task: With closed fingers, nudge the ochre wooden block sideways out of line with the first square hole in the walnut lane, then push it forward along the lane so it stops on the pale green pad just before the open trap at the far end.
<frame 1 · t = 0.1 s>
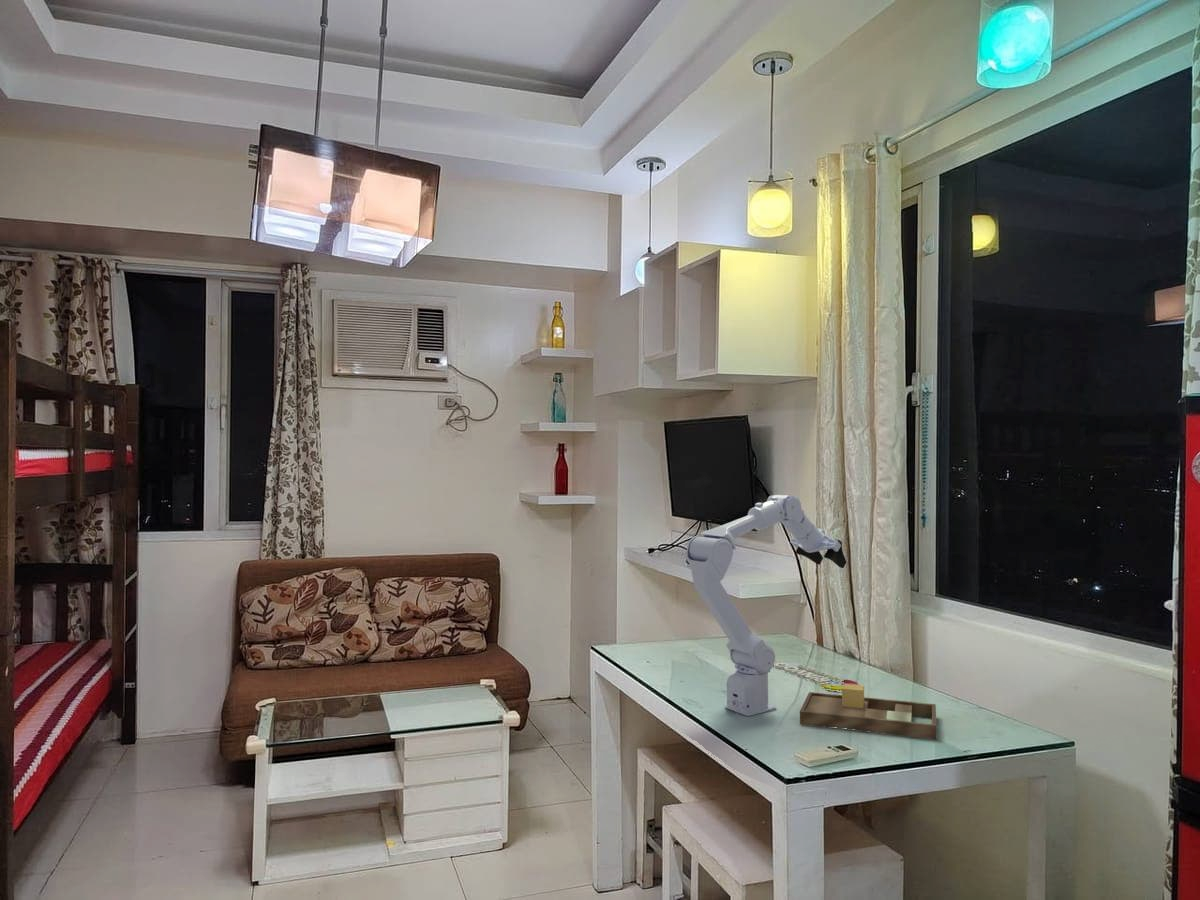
hand: (832, 563, 209), 32 cm above the table, tool tilted 50°, fingers open, 7 cm apart
block: (853, 704, 188), point 2 cm above the table, touching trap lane
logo: (814, 679, 219), on the table
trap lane: (868, 720, 184), on the table
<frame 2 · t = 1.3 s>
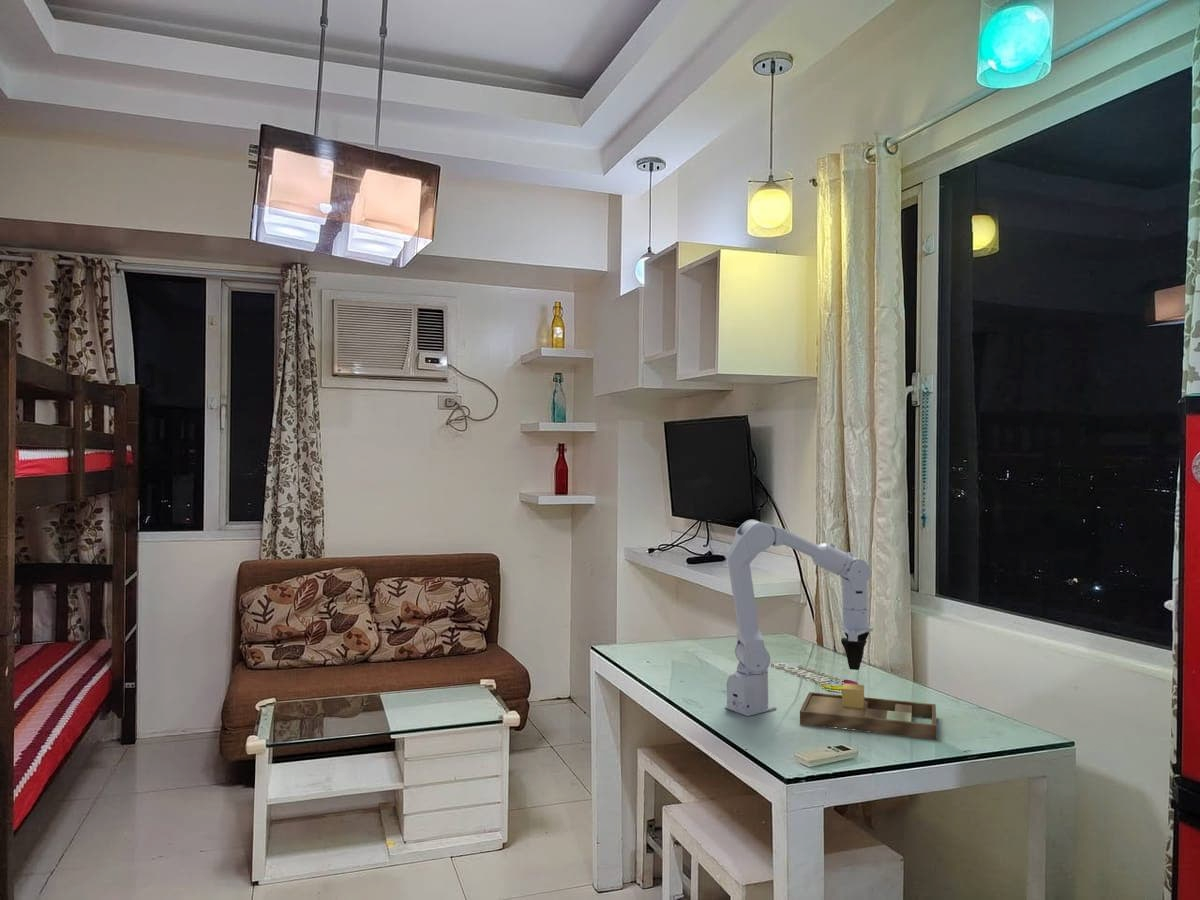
hand: (855, 665, 195), 9 cm above the table, tool pointing down, fingers open, 7 cm apart
nothing on the table moved.
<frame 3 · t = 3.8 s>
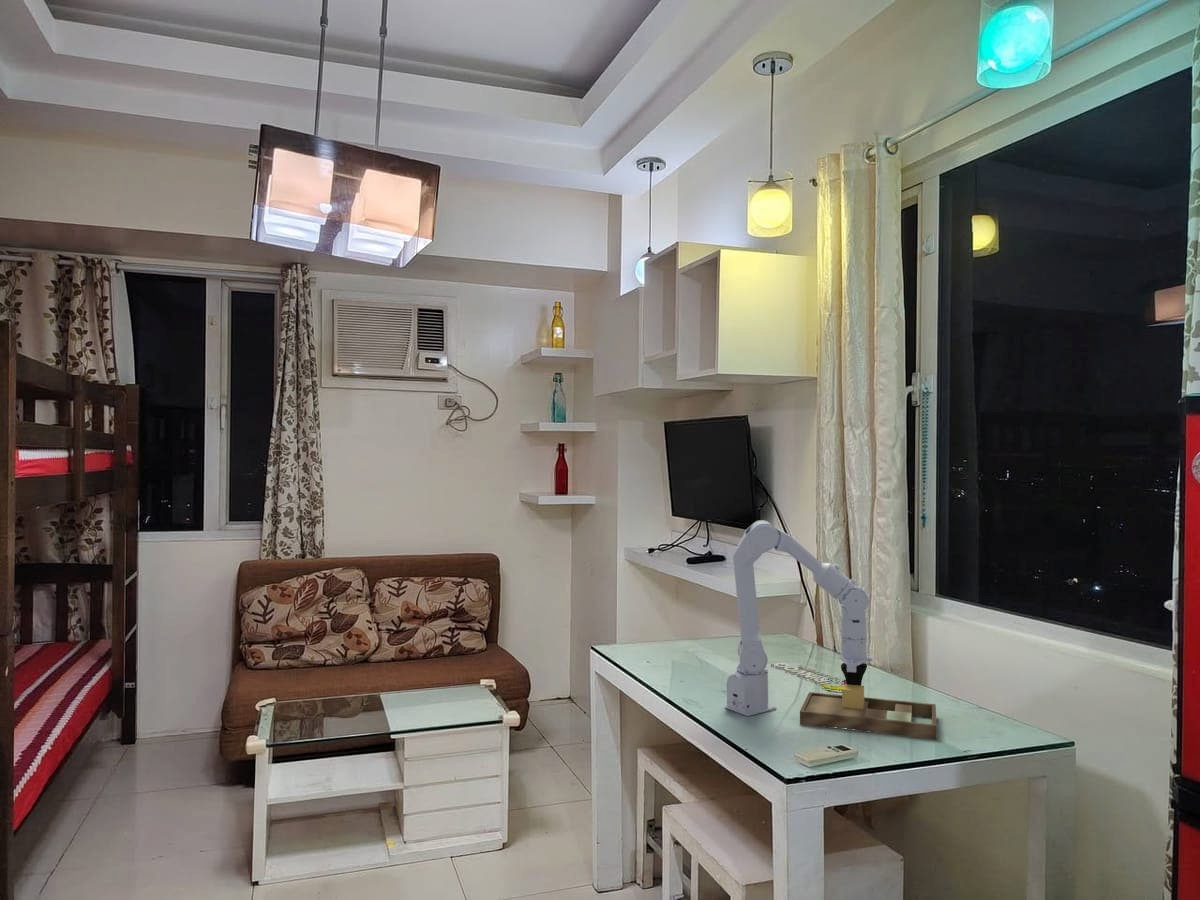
hand: (854, 695, 191), 3 cm above the table, tool pointing down, fingers closed
block: (853, 705, 187), point 2 cm above the table
everything else where it was.
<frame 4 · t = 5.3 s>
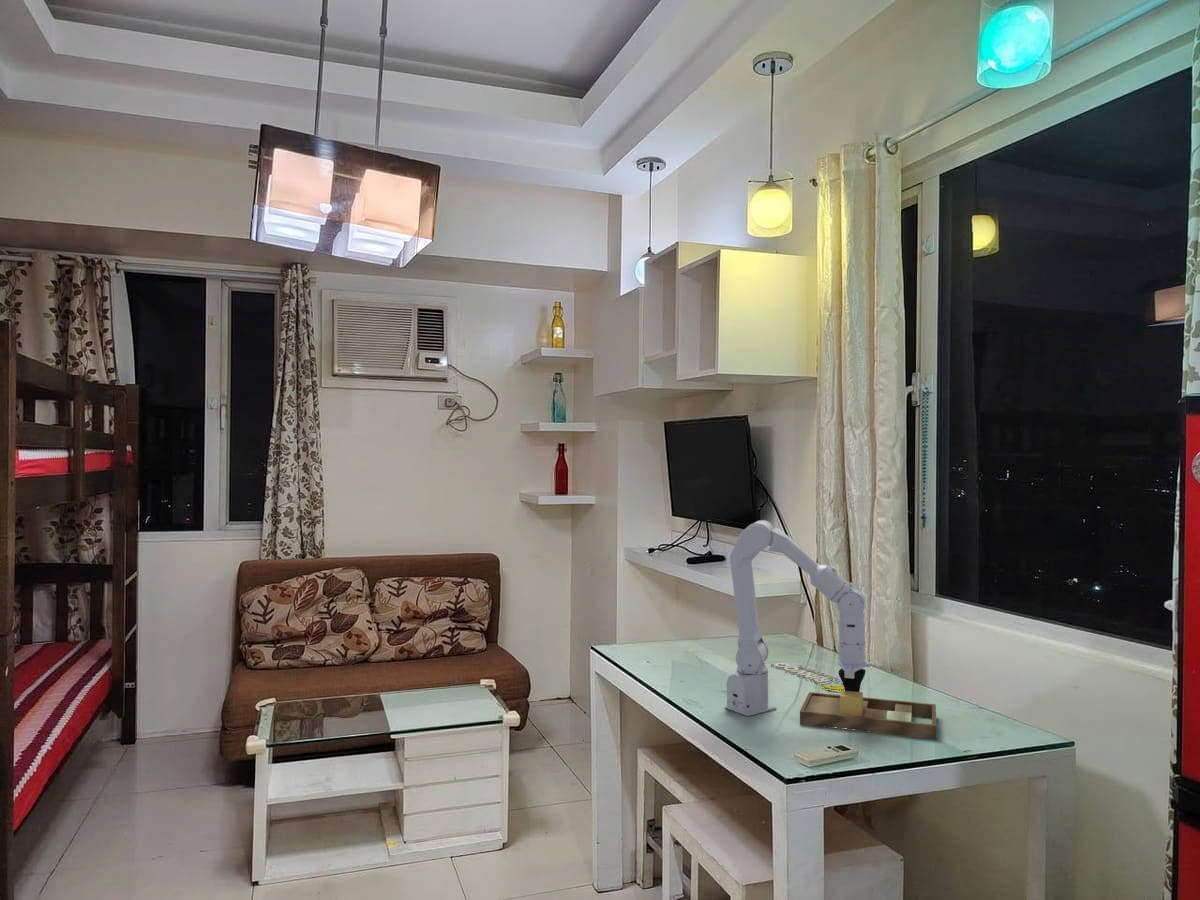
hand: (852, 702, 186), 4 cm above the table, tool pointing down, fingers closed
block: (851, 712, 182), point 2 cm above the table, touching gripper, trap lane
everything else where it was.
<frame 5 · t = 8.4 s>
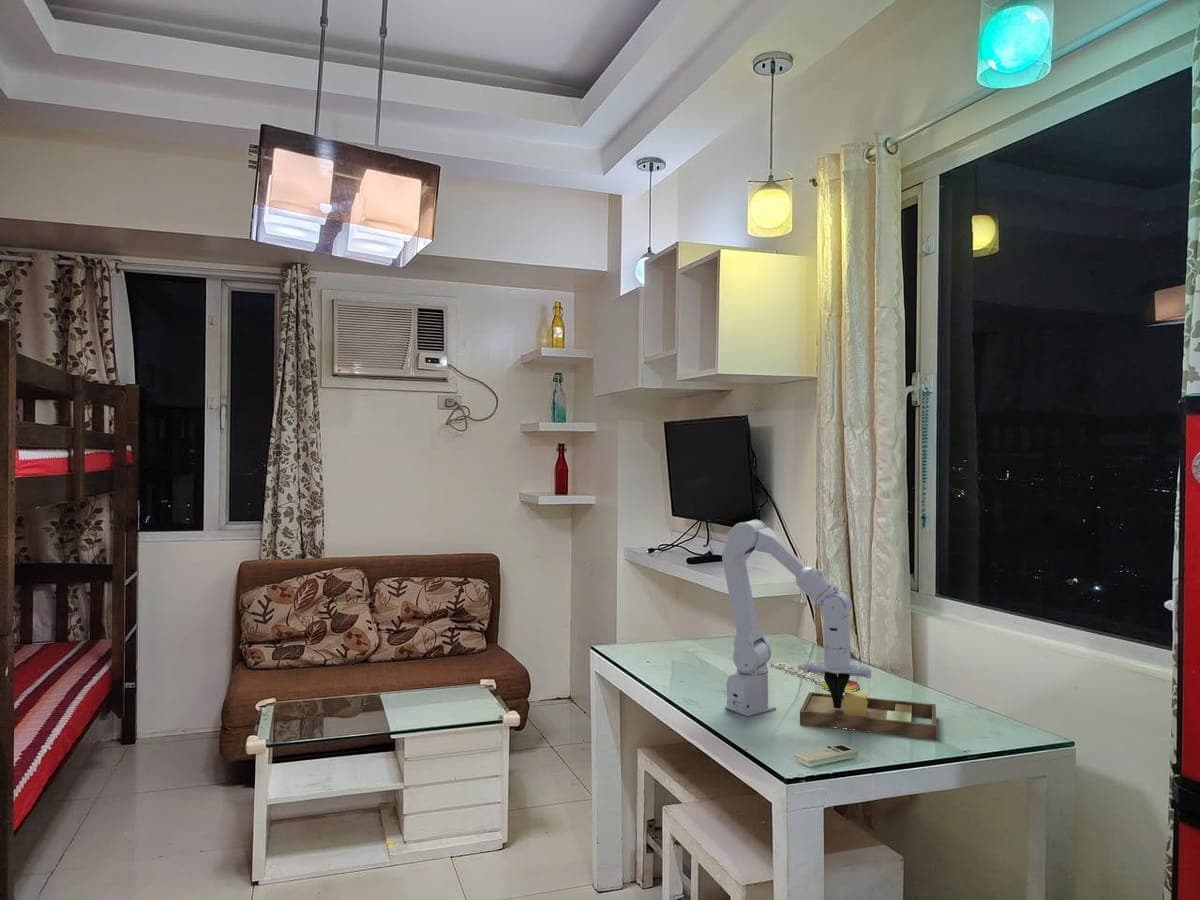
hand: (837, 707, 183), 3 cm above the table, tool pointing down, fingers closed
block: (855, 712, 182), point 2 cm above the table, touching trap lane
everything else where it was.
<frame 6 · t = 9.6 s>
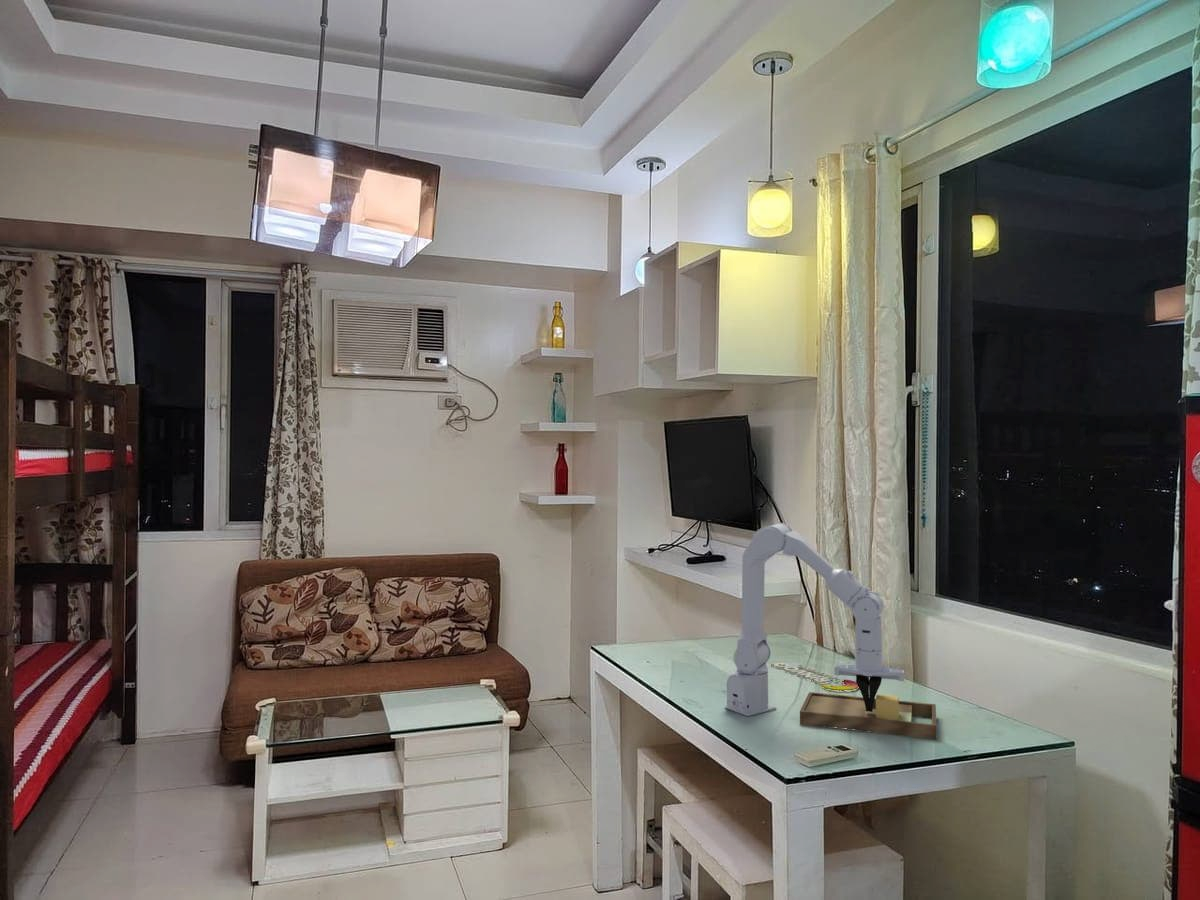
hand: (869, 710, 181), 3 cm above the table, tool pointing down, fingers closed
block: (887, 715, 179), point 2 cm above the table, touching gripper, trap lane
everything else where it was.
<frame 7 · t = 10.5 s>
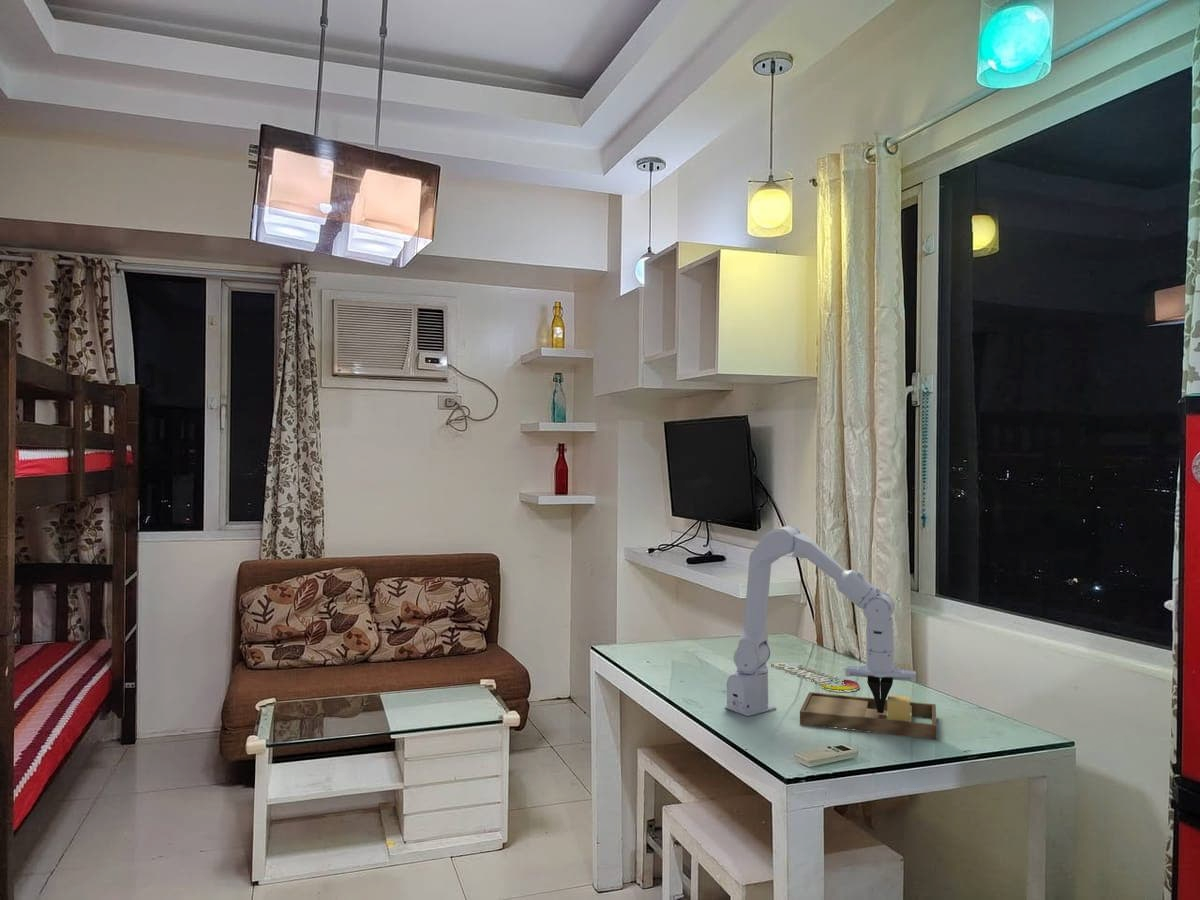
hand: (880, 711, 180), 3 cm above the table, tool pointing down, fingers closed
block: (898, 717, 179), point 2 cm above the table, touching gripper, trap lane
everything else where it was.
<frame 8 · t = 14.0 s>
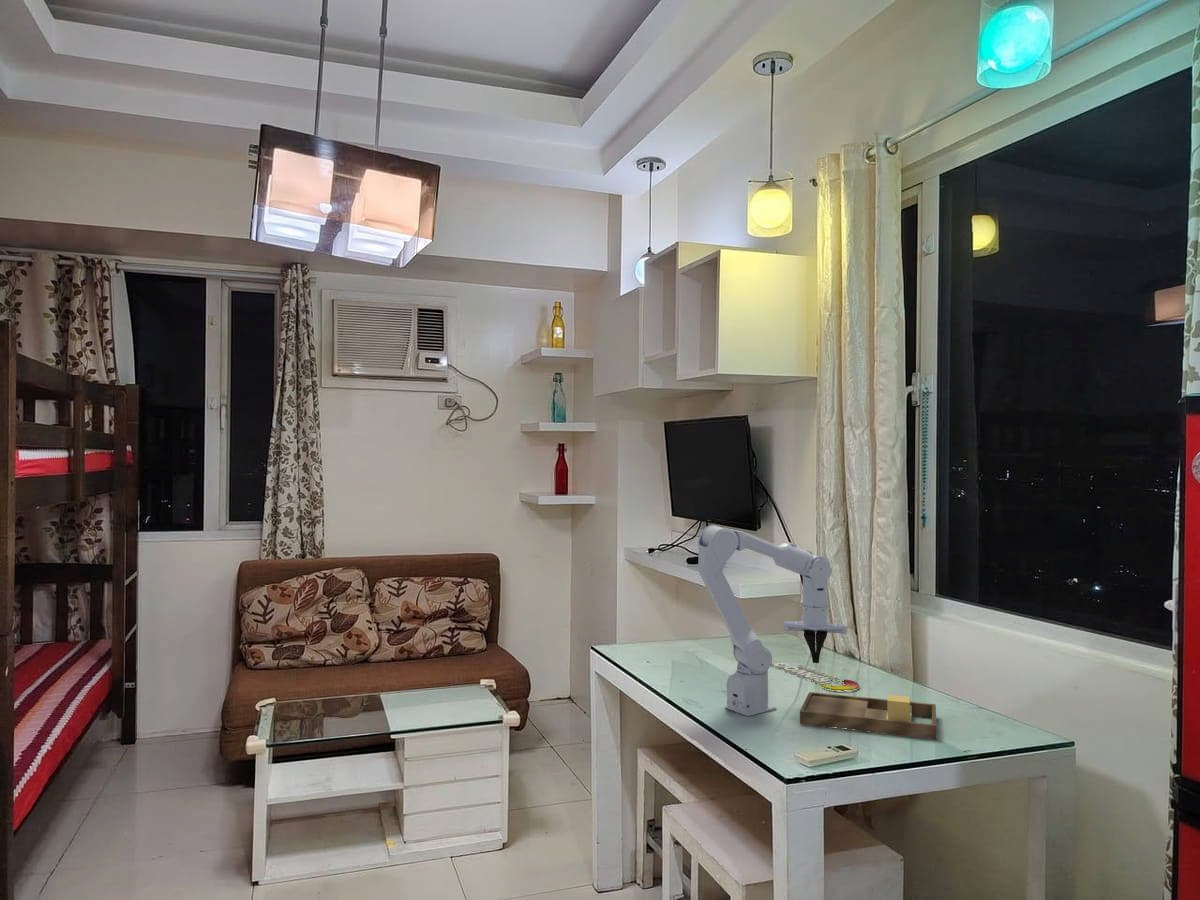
hand: (815, 662, 197), 10 cm above the table, tool pointing down, fingers closed
block: (898, 717, 179), point 2 cm above the table, touching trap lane
everything else where it was.
at the end: block 0.5 cm from the target spot, point 2.4 cm above the table; block tilted 0° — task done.
